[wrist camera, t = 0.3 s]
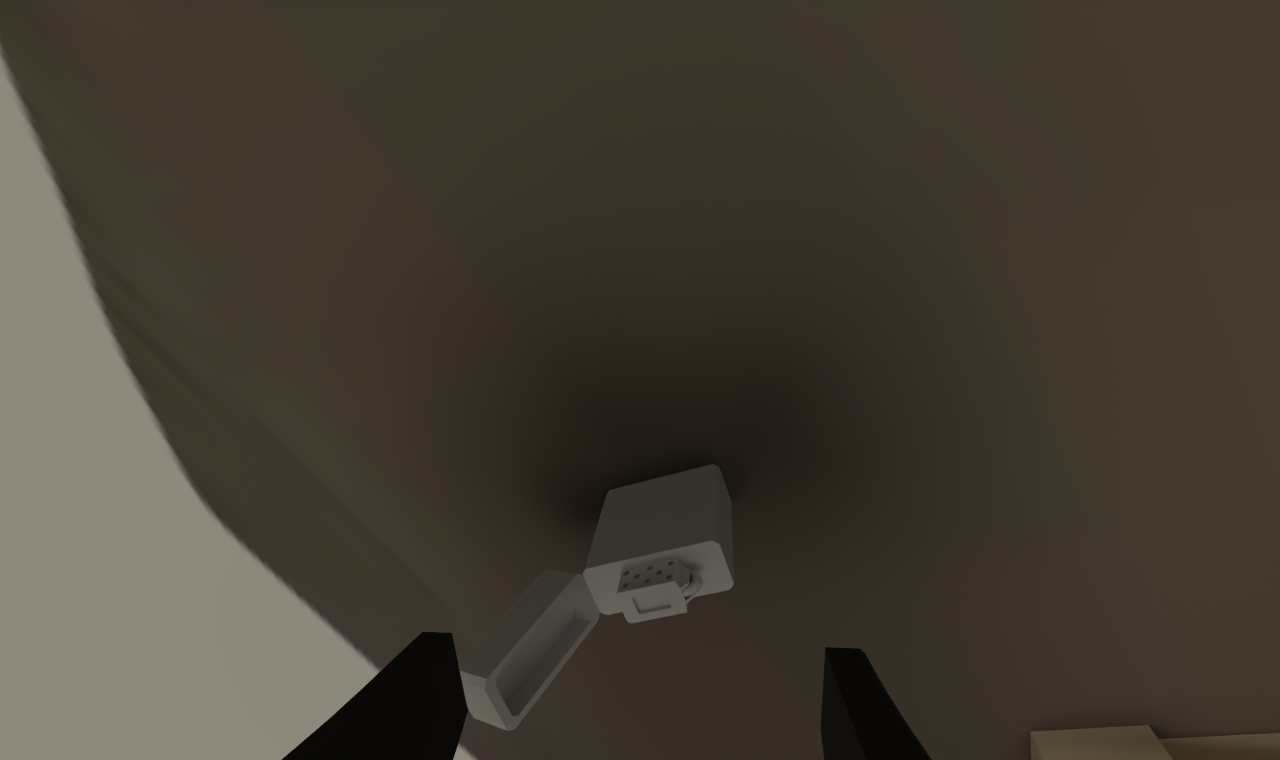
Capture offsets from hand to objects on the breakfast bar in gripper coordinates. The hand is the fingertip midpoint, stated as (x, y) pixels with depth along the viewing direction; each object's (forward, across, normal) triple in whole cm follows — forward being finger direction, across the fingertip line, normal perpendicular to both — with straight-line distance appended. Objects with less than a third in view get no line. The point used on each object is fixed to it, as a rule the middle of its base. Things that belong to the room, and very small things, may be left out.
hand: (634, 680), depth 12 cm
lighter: (+10, +2, +3) cm, 11 cm away
